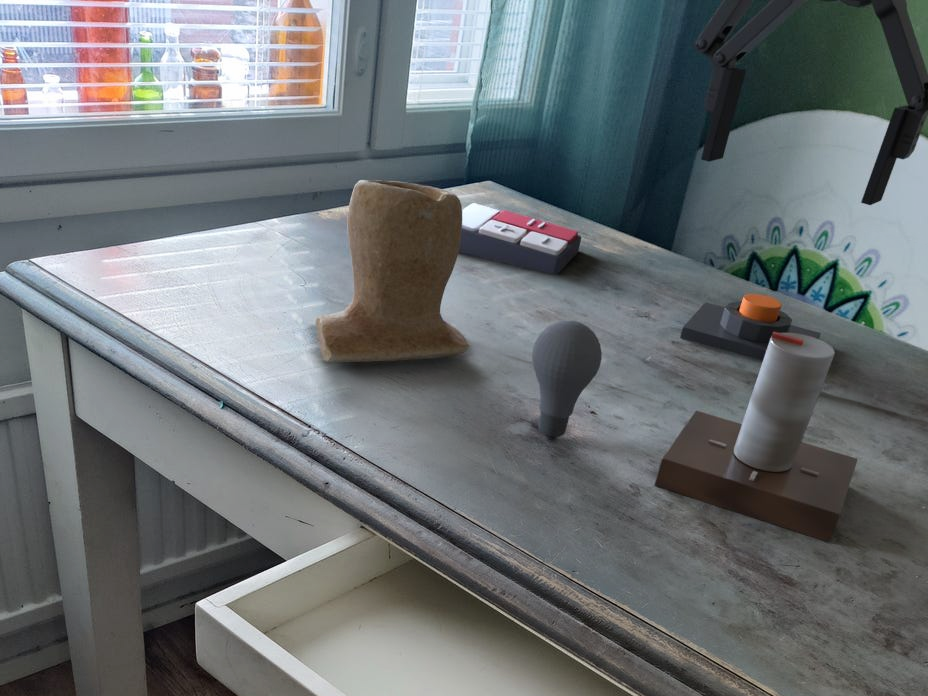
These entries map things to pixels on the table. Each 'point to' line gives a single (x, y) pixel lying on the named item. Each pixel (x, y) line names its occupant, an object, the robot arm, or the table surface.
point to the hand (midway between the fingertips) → (788, 180)
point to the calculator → (517, 239)
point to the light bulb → (563, 371)
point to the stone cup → (397, 275)
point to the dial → (783, 401)
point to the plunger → (760, 307)
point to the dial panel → (757, 478)
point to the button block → (737, 330)
